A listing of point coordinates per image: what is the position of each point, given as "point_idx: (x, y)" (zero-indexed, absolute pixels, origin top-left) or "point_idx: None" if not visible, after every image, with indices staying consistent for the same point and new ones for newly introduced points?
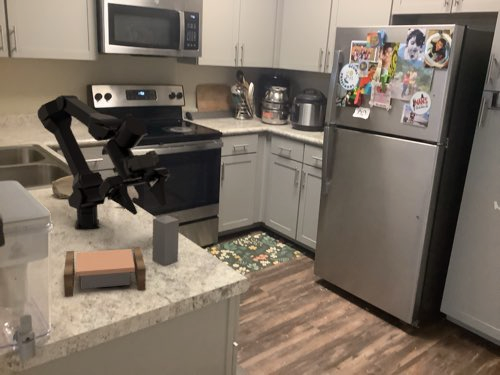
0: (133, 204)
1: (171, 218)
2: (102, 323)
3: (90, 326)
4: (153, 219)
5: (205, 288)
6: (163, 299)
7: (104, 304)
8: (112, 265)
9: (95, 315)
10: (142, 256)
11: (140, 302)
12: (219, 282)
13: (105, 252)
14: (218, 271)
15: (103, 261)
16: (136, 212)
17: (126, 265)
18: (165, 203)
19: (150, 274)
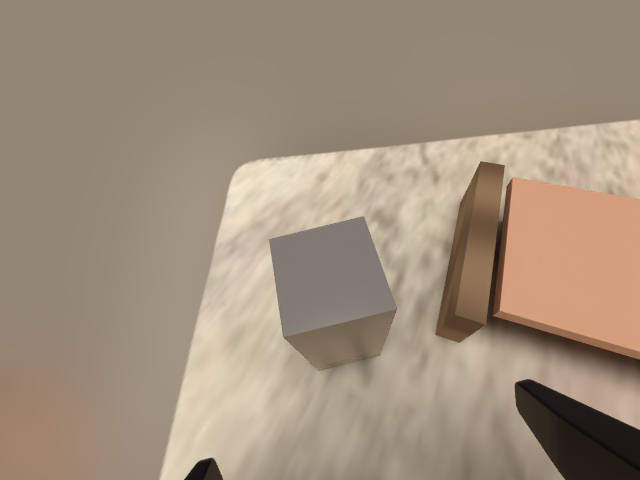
0: (595, 431)
1: (292, 270)
2: (579, 130)
3: (605, 129)
4: (394, 304)
5: (330, 160)
6: (433, 156)
7: (573, 183)
8: (590, 212)
9: (595, 155)
10: (469, 232)
11: None
12: (289, 169)
13: (624, 327)
14: (254, 208)
15: (628, 250)
16: (525, 380)
17: (538, 195)
18: (197, 469)
19: (421, 267)
